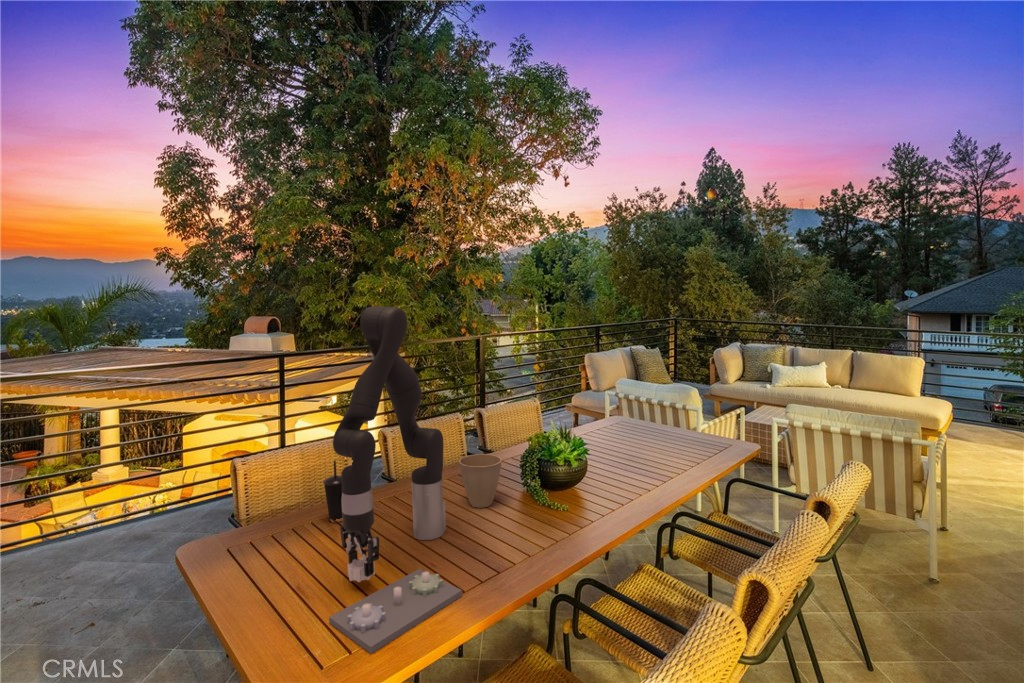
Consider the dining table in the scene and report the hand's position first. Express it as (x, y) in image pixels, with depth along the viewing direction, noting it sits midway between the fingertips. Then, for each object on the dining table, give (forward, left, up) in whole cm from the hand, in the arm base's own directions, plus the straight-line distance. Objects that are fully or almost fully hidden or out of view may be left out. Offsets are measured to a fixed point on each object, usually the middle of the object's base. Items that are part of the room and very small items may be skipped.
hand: (361, 570), depth 129 cm
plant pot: (-57, -12, -4) cm, 58 cm away
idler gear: (0, 0, -1) cm, 1 cm away
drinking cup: (-18, -41, -4) cm, 45 cm away
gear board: (0, +15, -4) cm, 16 cm away
